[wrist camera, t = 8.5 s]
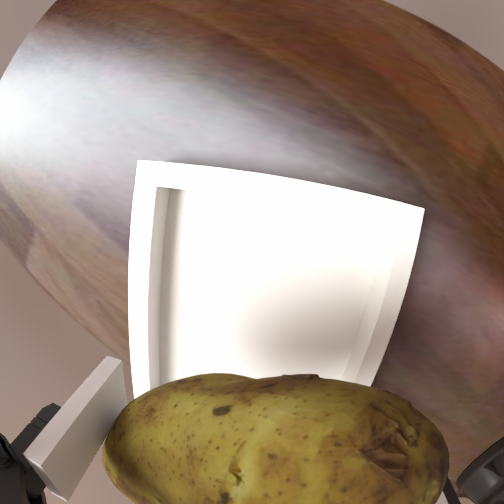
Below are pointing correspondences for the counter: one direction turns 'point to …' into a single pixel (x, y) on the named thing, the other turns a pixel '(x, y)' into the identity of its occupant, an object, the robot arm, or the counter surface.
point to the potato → (274, 444)
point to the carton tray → (262, 275)
